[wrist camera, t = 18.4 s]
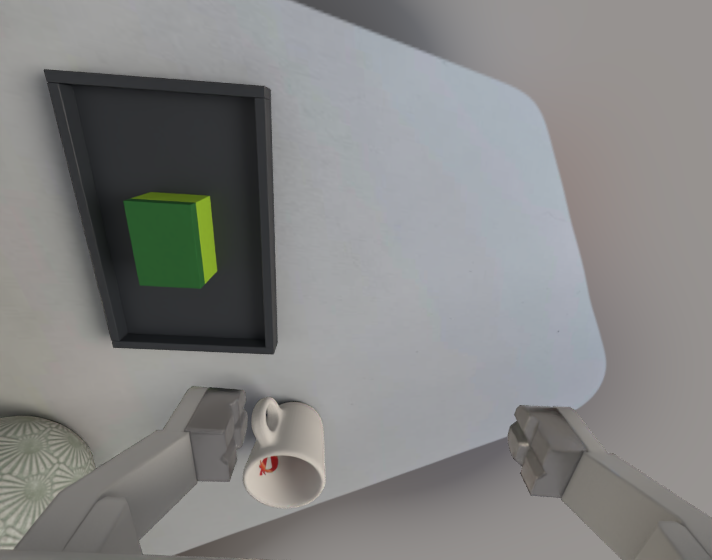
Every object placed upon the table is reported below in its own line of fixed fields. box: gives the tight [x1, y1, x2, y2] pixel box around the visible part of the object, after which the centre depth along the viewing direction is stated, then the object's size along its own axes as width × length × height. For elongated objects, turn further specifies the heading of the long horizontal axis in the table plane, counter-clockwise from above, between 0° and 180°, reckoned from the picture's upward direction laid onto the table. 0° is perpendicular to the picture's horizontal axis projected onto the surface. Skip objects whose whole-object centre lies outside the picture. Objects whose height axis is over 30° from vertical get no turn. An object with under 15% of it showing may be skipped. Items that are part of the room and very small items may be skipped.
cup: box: [243, 397, 326, 508], centre depth 37 cm, size 11×8×8 cm
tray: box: [44, 69, 278, 354], centre depth 31 cm, size 24×16×2 cm, turn 176°
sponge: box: [123, 192, 217, 289], centre depth 29 cm, size 7×5×4 cm
